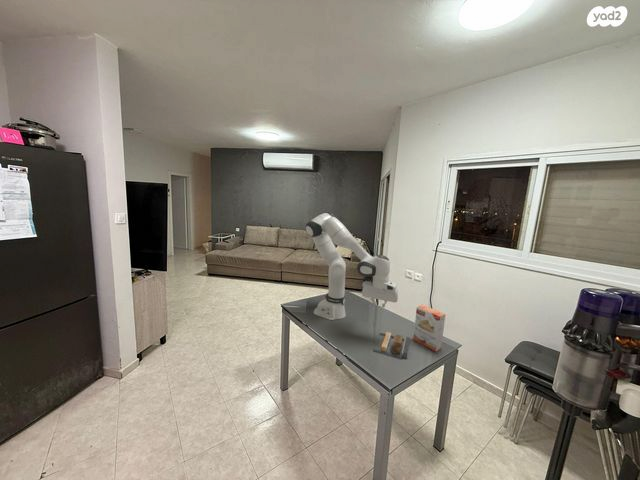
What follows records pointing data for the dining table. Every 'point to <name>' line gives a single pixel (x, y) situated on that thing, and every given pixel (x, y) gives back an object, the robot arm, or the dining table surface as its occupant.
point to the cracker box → (429, 327)
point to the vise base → (404, 351)
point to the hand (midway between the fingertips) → (378, 306)
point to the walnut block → (397, 344)
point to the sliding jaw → (386, 342)
